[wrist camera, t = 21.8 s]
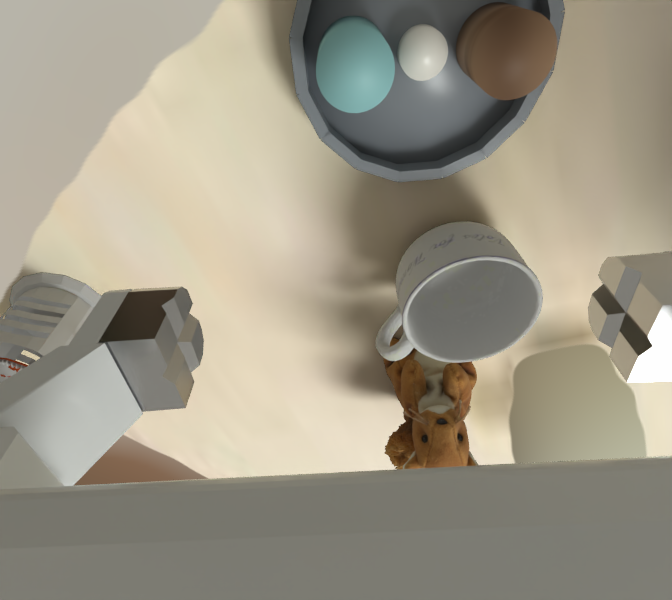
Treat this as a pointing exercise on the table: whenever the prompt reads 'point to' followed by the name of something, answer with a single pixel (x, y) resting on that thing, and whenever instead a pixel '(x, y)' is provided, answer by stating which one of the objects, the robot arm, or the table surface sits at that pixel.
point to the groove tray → (412, 89)
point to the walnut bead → (506, 49)
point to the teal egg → (354, 65)
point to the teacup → (461, 296)
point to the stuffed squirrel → (431, 411)
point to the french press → (42, 318)
